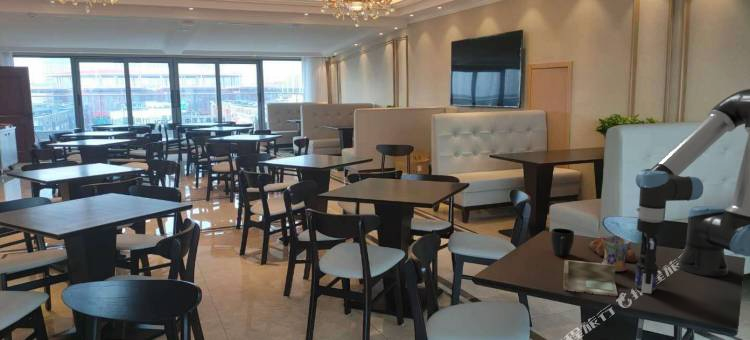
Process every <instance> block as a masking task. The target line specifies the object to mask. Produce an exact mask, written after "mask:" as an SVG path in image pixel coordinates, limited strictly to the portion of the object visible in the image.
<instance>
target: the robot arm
mask: <svg viewBox="0 0 750 340" xmlns="http://www.w3.org/2000/svg"><path fill="white" fill-rule="evenodd" d="M742 125H744V130H745V131H746V132H747V134H748V135H747V139H746V144H745V147H744V151H743V155H742V160H741V164H740V168H739V172H738V177H737V180H736V183H735V189H734V191H733V192H734V193H733V195H732V200H731V204H730V205H729V206H727V207H725V206H717V205H716V206H713V205H700V206H692V207H691V208H690V209H689V213H688V216H687V227H686V228H687V230H686V242H685V247H684V250H683V251H682V253H681V255H680V257H679V260H678V268H679V269H681V270H683V271H686V272H688V273H692V274H694V275H695V274H696V275H699V276H705V277H724V276H727V275H728V273H729V265H728V262H727V258H726V255H725V250H726V251H729V252H732V253H734V254H736V255H741V256H744V257H750V88H746V89H741V90H739V91H737V92H735V93H733V94H731V95H729V96H727V97H726V98H724V99H723V100H722V101H720V102H719V103H717V104H716V105H715V106H714V107H713V108H712V109H710V110H709V111H708V113H707V117H706V118H705V119H704V120H703V121H702V122H700V124H699V125H697V126H696V128H694V129H693V130H692V131H691V132H690V133H689V134H688V135H686V136H685V137H684V138H683V139H682V140H681V141H680V142H679V143H678V144H676V145H675V146H674V147H673V148H672V149H671V150H670V151H669V152H668V153H667V154H666V155H664V157H663V158H662V159H660V160H659V161H658V162H657V163H656V164H655V165H653V166H652V167H651V168H644V169H640V170H639V171H638V173H637V174H636V176H635V184H636V186H637V187H638V188H639V203H638V207H637V208H636V212H637V217H638V219H637V223H636V224H637V225H636V230H637V232H641V244H640V252H639V253H640V255H642V254H645V264H644V271H642V273H643V281H642V291H641V293H643V294H651V295H652V293H653V292H652V281H653V274H655V264H656V262H655V258H656V259H657V256H656V255H657V246H658V244H657V243H658V238H656V235H661V234H663V233H664V226H665V222H664V220H665V219H666V218H665V217H666V208H667V202H672V201H673V202H675V201H687V202H689V201H694V200H698V199H700V198H701V197H702V195H703V193H704V184H703V182H702V180H701V179H700V178H699V177H697V176H690V175H689V176H680V175H681V174H682V173H683V172H684V171H685V170H686V169H687V168H688V167H689V166H691V165H692V164H693V163H694V162H695V161H697V159H698V158H699V157H701V156H702V155H703V154H704V153H705V152H706V151H707V150H708V149H710V148H711V146H713V145H714V144H715V143H716V142H717V141H718V140H719V139H720V138H721V137H723V136H724V135H725V134H726V133H727V132H728V133H729V132H733V130H736V128H737V127H739V126H742ZM640 255H639V256H640ZM638 260H640V257H639V259H638Z"/></svg>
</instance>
